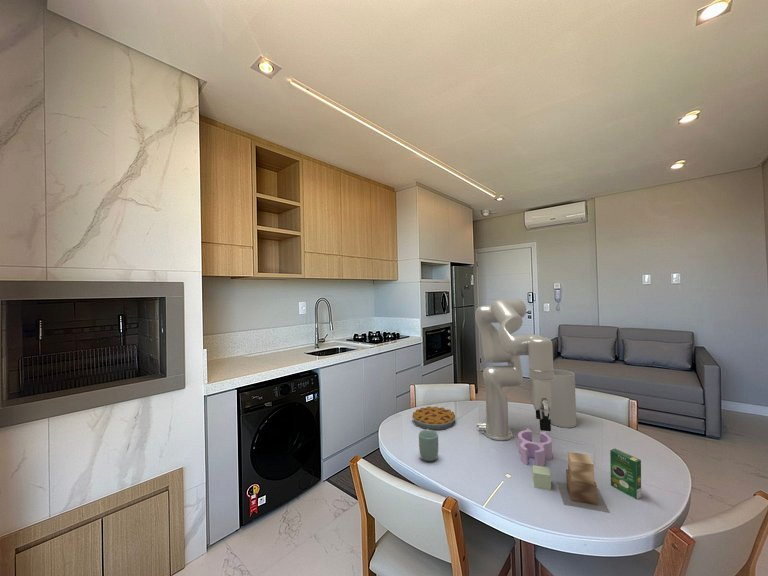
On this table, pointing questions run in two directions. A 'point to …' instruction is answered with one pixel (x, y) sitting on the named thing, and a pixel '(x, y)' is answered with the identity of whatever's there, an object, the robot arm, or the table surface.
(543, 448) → the clip
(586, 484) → the brick walnut
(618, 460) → the coffee box
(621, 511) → the table surface
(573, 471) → the brick oak
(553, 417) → the cylinder vase
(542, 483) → the brick sage
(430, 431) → the cup
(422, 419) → the pie
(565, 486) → the base tile
